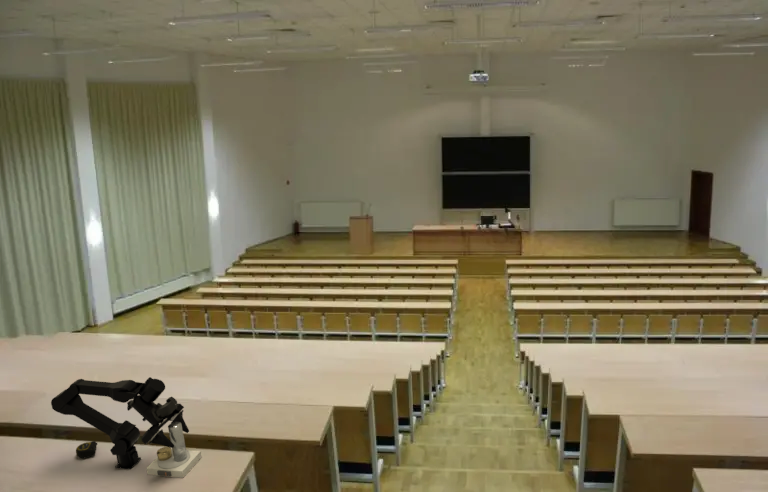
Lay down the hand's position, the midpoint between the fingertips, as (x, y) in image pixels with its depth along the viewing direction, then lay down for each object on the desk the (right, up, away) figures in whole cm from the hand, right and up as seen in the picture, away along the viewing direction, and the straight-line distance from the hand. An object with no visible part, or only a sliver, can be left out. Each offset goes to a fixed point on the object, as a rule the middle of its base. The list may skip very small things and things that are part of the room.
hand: (181, 439), depth 207 cm
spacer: (-1, -7, +2) cm, 8 cm away
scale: (-3, -11, +4) cm, 12 cm away
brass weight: (-7, -7, +4) cm, 11 cm away
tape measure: (-40, -11, +16) cm, 44 cm away
